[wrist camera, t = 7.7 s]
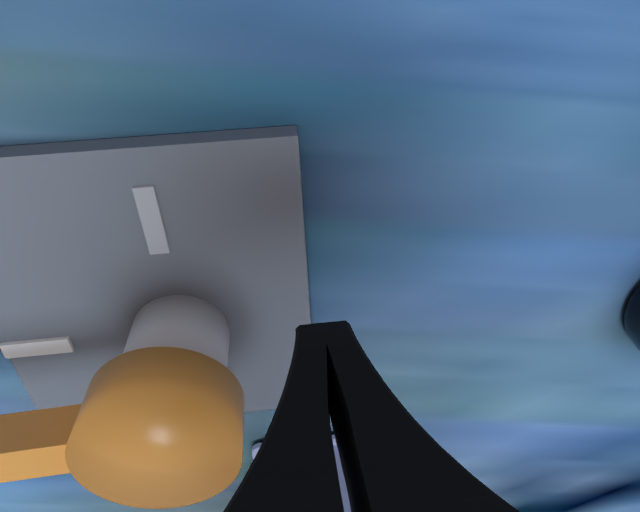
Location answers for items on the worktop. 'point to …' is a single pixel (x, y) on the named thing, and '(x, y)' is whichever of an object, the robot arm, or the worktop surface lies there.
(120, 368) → the crank handle
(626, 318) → the supplement bottle
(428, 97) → the worktop surface
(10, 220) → the plate
